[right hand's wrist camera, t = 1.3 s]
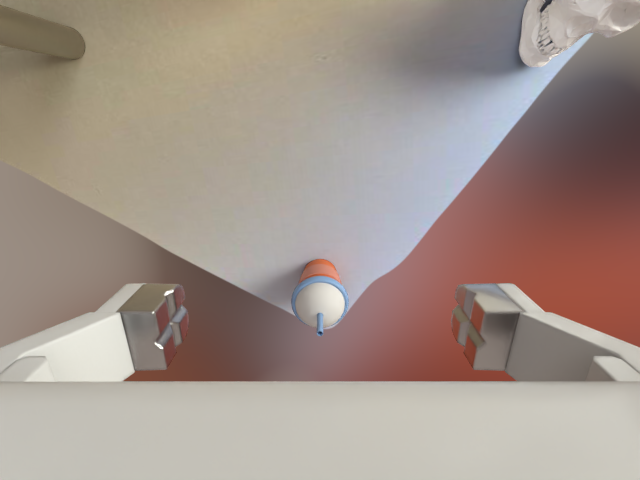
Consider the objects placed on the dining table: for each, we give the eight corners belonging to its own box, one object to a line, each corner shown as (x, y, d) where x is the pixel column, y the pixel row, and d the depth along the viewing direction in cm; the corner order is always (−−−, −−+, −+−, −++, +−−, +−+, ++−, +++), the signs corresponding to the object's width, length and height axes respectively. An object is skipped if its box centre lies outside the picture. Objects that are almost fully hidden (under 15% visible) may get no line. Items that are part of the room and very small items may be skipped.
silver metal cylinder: (51, 27, 49) (-106, -20, 31) (80, 26, 49) (-61, -22, 31) (60, 59, 50) (-85, 33, 32) (88, 59, 50) (-41, 31, 32)
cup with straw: (291, 289, 64) (281, 354, 48) (300, 246, 61) (293, 299, 44) (337, 298, 65) (344, 365, 48) (349, 256, 62) (360, 311, 45)
